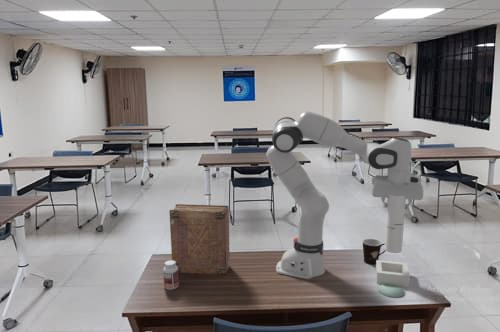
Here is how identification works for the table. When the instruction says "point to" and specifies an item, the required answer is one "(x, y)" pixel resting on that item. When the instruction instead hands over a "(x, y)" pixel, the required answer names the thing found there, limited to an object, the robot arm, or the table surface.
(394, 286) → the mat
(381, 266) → the holder
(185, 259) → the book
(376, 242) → the coffee mug
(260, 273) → the table surface
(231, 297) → the table surface
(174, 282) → the pill bottle
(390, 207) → the cylindrical container
